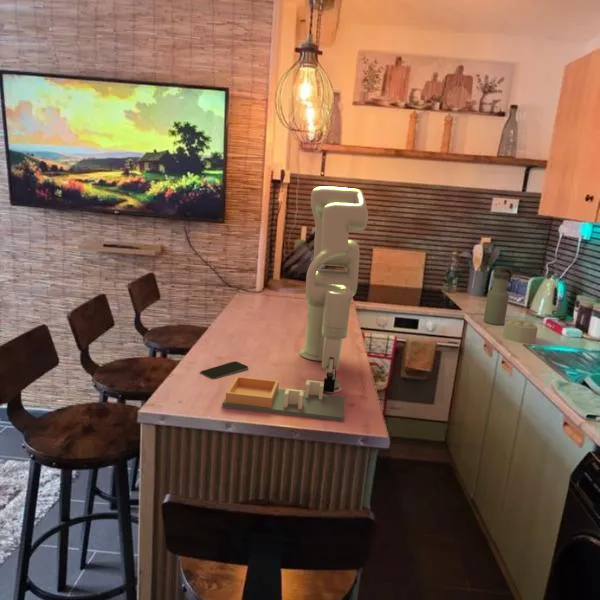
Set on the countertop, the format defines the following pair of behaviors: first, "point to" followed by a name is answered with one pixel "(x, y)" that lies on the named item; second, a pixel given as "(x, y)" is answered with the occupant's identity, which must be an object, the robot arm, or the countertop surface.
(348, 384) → the countertop surface
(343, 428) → the countertop surface
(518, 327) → the lumpy-topped squat cylinder
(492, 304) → the water bottle
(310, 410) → the board
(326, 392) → the pacifier
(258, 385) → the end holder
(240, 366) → the smartphone
